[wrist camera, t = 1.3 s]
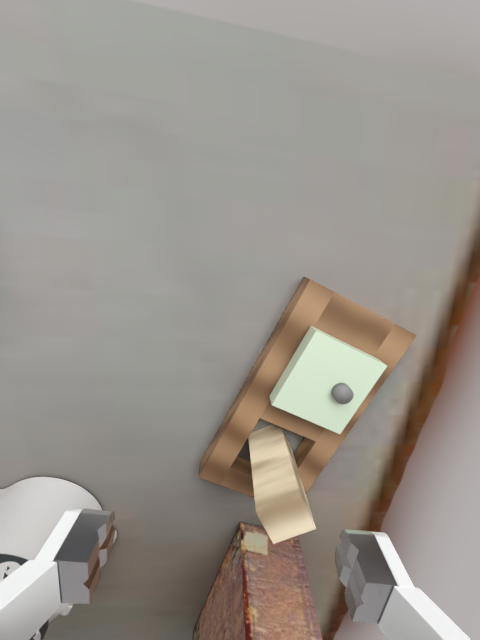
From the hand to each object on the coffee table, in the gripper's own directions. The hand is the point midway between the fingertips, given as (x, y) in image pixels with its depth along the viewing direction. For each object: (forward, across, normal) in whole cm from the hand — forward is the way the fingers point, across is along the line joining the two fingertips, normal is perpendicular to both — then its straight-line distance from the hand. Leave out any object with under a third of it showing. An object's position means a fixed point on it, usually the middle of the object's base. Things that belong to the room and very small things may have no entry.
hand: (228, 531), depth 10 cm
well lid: (+21, -11, +4) cm, 24 cm away
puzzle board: (+24, -9, +9) cm, 27 cm away
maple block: (+23, -6, +15) cm, 29 cm away
